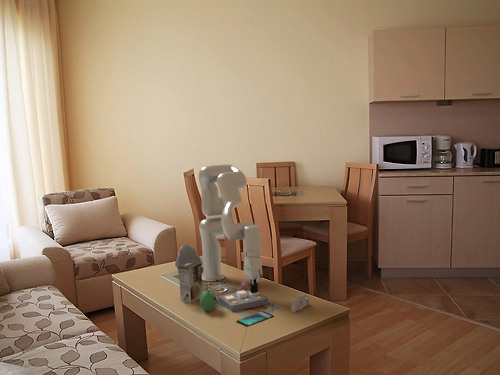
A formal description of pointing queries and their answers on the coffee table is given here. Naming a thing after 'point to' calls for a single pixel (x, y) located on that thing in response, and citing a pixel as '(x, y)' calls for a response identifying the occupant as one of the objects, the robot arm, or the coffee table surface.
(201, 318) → the coffee table surface
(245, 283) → the pink curved piece
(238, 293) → the button middle
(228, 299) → the button
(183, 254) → the decorative rock
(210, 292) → the alien toy
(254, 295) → the button
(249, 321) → the smartphone
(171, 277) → the coffee table surface
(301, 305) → the garden wall model
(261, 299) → the button board
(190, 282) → the coffee box
